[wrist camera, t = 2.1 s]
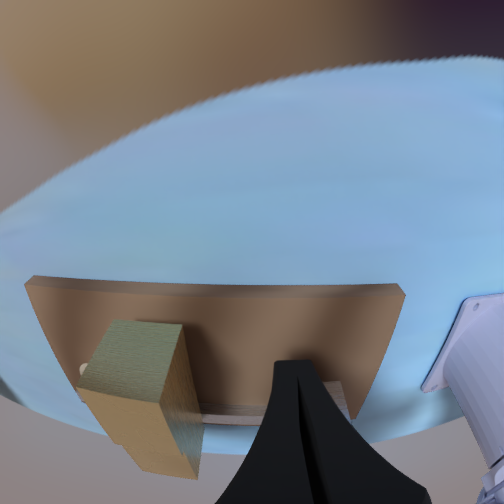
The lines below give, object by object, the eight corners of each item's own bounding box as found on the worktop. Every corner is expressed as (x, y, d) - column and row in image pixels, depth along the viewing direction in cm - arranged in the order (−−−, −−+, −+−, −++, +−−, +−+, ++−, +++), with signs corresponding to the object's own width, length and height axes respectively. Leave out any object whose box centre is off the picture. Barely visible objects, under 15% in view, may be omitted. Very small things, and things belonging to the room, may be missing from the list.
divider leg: (186, 312, 11) (158, 403, 7) (205, 417, 15) (197, 484, 10) (120, 307, 11) (75, 386, 7) (157, 411, 15) (141, 475, 11)
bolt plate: (397, 283, 12) (406, 296, 11) (352, 407, 17) (355, 420, 15) (33, 275, 12) (22, 285, 11) (87, 392, 17) (81, 403, 16)
